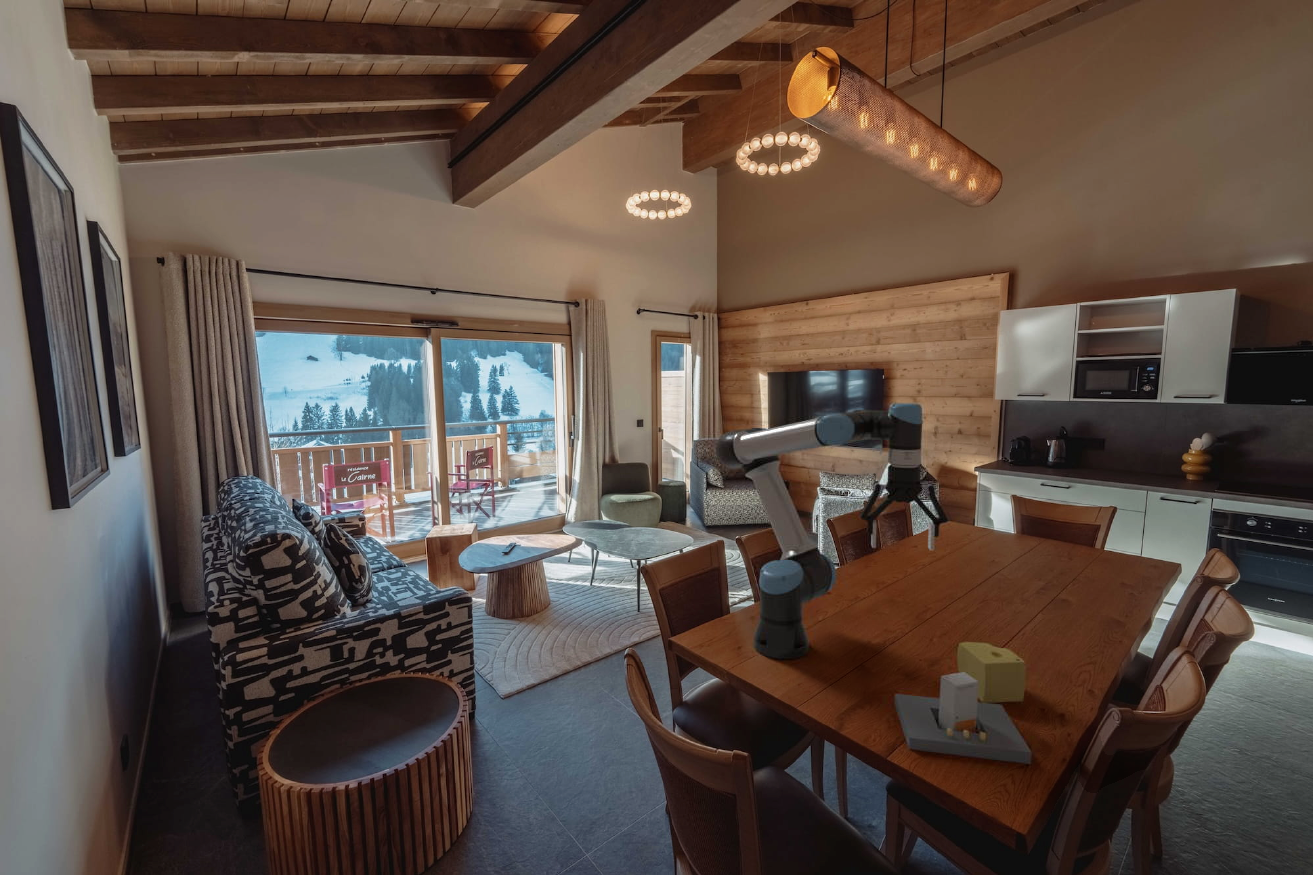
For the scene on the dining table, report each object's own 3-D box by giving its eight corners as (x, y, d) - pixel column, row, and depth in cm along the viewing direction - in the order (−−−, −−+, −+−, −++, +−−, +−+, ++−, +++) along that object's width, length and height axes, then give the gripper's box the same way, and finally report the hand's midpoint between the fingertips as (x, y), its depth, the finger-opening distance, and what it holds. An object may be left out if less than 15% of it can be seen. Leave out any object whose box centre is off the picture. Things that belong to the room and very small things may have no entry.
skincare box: (952, 740, 116) (955, 685, 115) (937, 727, 120) (939, 675, 119) (977, 735, 118) (979, 681, 116) (961, 723, 122) (963, 670, 120)
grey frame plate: (909, 749, 114) (909, 730, 113) (894, 703, 129) (895, 687, 129) (1030, 764, 109) (1032, 744, 108) (1000, 715, 124) (1001, 698, 124)
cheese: (996, 678, 139) (998, 640, 138) (1026, 703, 128) (1029, 662, 127) (955, 679, 139) (957, 641, 138) (982, 705, 128) (984, 664, 127)
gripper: (853, 466, 139) (851, 549, 141) (963, 468, 133) (960, 554, 136) (850, 462, 146) (848, 540, 149) (954, 463, 141) (951, 545, 143)
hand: (901, 547), depth 142 cm, fingers open, 13 cm apart
